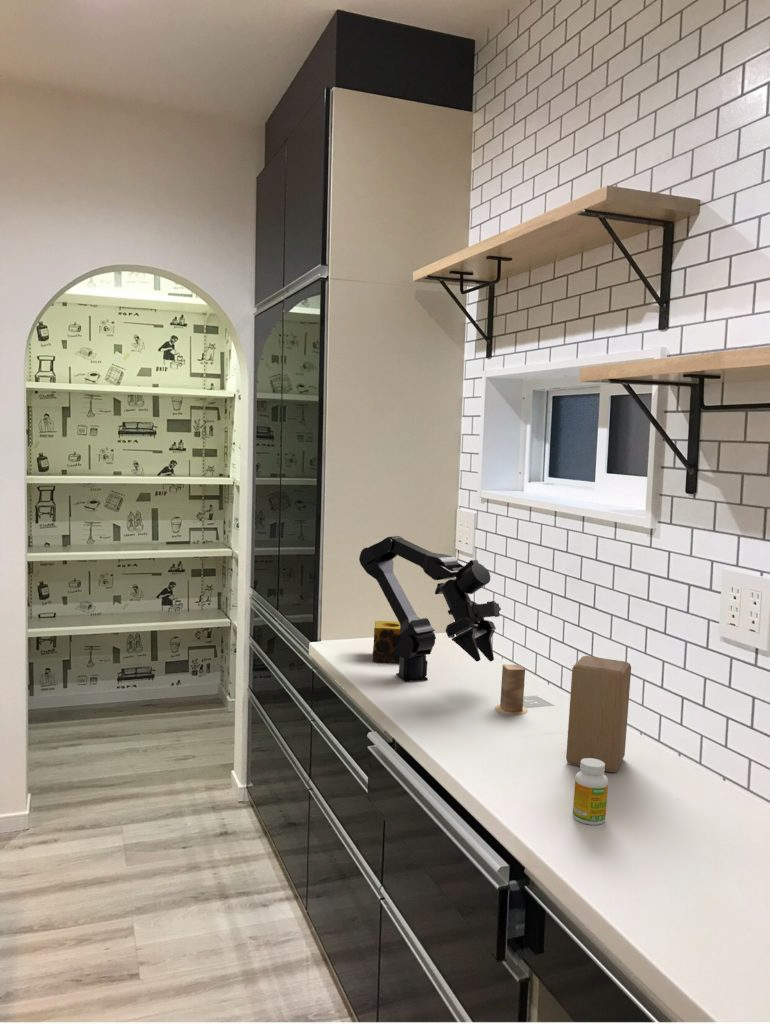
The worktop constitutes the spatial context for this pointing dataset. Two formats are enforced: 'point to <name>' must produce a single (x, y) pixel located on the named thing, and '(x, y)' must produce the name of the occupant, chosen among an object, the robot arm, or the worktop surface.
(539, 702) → the tile
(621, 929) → the worktop surface
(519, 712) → the cork coaster
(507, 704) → the walnut block
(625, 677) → the block
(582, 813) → the supplement bottle
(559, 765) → the worktop surface
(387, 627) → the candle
